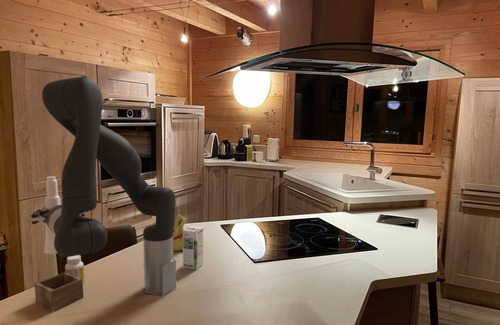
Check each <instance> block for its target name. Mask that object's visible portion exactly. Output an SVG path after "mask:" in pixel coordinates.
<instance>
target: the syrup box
mask: <svg viewBox="0 0 500 325" xmlns="http://www.w3.org/2000/svg"><path fill="white" fill-rule="evenodd" d="M202 265H204V227H199V226H198V227H197V226H193V225H192V226H191V225H190V226H187V227H185V228H183V250H182V268H183V269H190V270H195V271H197V270H198V269H199V268H201V267H202Z"/></svg>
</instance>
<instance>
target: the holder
mask: <svg viewBox="0 0 500 325" xmlns="http://www.w3.org/2000/svg"><path fill="white" fill-rule="evenodd" d="M34 292H35V293H34V294H35V303H37V304H38V305H40V306H41V307H44V308H46V309H48V310H49V311H52V312H56V311H58V310H60V309H62V308H64V307H67V306H69V305H71V304H73V303H75V302H77V301H79V300H81V299H83V298H84V285H83V279H81V278H78V277H76V276H73V275H71V274H69V273H66V272H65V271H64V272H61V273H59V274H58V273H57V275H56V274H55V275H53V276H51V277H48V278H45V279H42V280H39V281H37V282H35V283H34Z"/></svg>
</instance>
